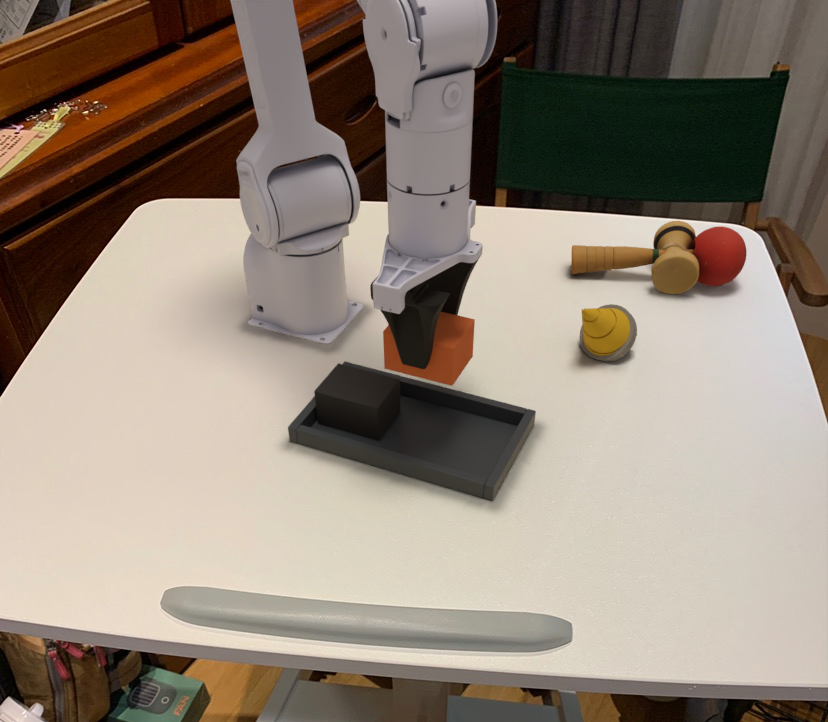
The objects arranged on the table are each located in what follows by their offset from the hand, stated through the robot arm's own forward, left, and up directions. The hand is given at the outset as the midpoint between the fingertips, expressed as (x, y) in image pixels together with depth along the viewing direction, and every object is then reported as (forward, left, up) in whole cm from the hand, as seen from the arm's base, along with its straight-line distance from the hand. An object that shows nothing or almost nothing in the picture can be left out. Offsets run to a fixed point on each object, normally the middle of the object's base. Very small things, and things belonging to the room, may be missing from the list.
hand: (427, 348), depth 66 cm
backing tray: (-1, -1, -8) cm, 9 cm away
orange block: (0, 0, -1) cm, 1 cm away
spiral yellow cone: (+11, +17, -9) cm, 22 cm away
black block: (-6, -1, -8) cm, 10 cm away
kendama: (+12, +34, -9) cm, 37 cm away
